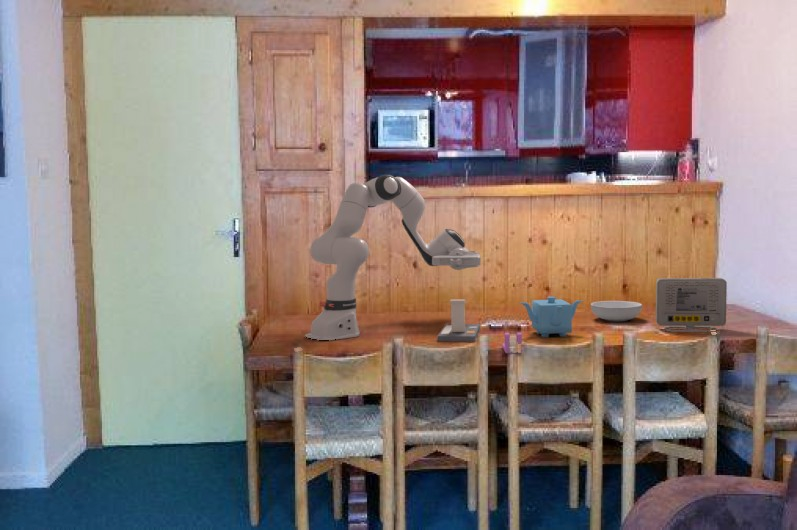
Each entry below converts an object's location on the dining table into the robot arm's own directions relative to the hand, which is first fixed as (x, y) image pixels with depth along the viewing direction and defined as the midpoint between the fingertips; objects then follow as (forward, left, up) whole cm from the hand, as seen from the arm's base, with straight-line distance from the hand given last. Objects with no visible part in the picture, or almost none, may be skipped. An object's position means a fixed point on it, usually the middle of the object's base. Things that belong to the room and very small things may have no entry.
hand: (454, 262), depth 336 cm
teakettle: (+11, -40, -27) cm, 50 cm away
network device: (+53, -75, -27) cm, 96 cm away
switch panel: (-11, -12, -27) cm, 31 cm away
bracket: (-19, -44, -27) cm, 56 cm away
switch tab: (-15, -15, -25) cm, 32 cm away
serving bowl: (+55, -41, -27) cm, 74 cm away
